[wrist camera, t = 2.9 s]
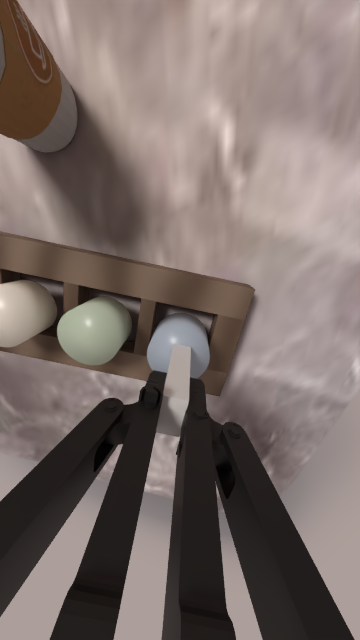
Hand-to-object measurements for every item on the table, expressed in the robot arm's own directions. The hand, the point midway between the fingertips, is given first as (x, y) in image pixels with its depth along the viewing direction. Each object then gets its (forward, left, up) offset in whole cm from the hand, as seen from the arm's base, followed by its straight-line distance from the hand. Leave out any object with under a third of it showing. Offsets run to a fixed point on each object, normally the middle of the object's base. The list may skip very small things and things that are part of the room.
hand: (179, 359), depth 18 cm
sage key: (-8, 0, -4) cm, 9 cm away
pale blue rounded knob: (0, 0, -4) cm, 4 cm away
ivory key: (-16, 0, -4) cm, 17 cm away
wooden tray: (-8, 0, -7) cm, 11 cm away
